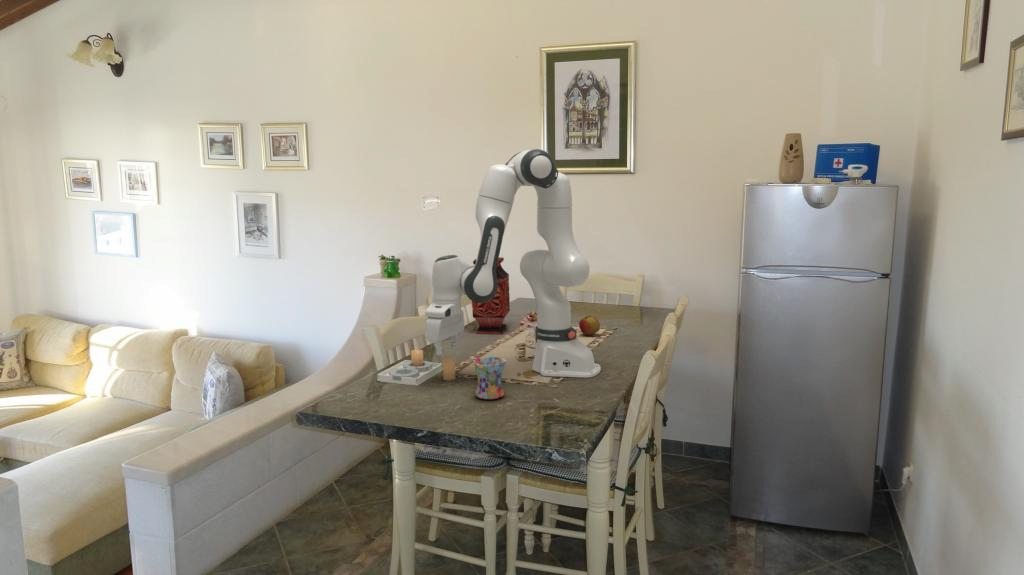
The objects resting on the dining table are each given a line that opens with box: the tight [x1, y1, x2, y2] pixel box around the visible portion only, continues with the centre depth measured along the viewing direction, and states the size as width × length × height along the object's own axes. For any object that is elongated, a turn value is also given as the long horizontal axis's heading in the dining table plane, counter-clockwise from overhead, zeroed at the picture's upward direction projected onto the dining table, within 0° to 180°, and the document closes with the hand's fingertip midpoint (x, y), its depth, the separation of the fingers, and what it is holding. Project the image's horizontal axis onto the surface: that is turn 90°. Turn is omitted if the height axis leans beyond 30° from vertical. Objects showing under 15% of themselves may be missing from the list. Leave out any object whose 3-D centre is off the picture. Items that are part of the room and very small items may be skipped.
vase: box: [471, 257, 511, 335], centre depth 276 cm, size 14×14×30 cm
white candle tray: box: [376, 349, 443, 387], centre depth 216 cm, size 14×18×7 cm
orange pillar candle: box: [442, 358, 456, 381], centre depth 212 cm, size 4×4×6 cm
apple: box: [578, 315, 601, 337], centre depth 269 cm, size 8×8×8 cm
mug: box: [472, 356, 507, 400], centre depth 196 cm, size 12×9×11 cm
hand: (446, 351), depth 211 cm, fingers open, 8 cm apart
